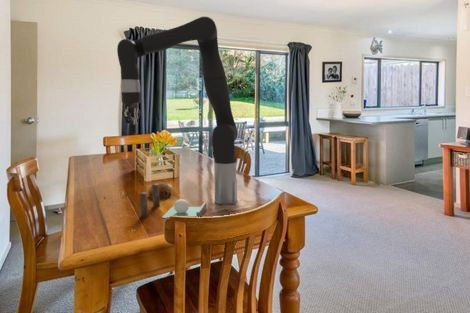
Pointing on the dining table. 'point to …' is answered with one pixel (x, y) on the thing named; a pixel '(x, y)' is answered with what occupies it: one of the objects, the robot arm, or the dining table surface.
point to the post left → (143, 205)
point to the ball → (181, 206)
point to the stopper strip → (201, 210)
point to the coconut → (161, 191)
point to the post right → (156, 195)
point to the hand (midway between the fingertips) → (133, 133)
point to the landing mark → (190, 212)
